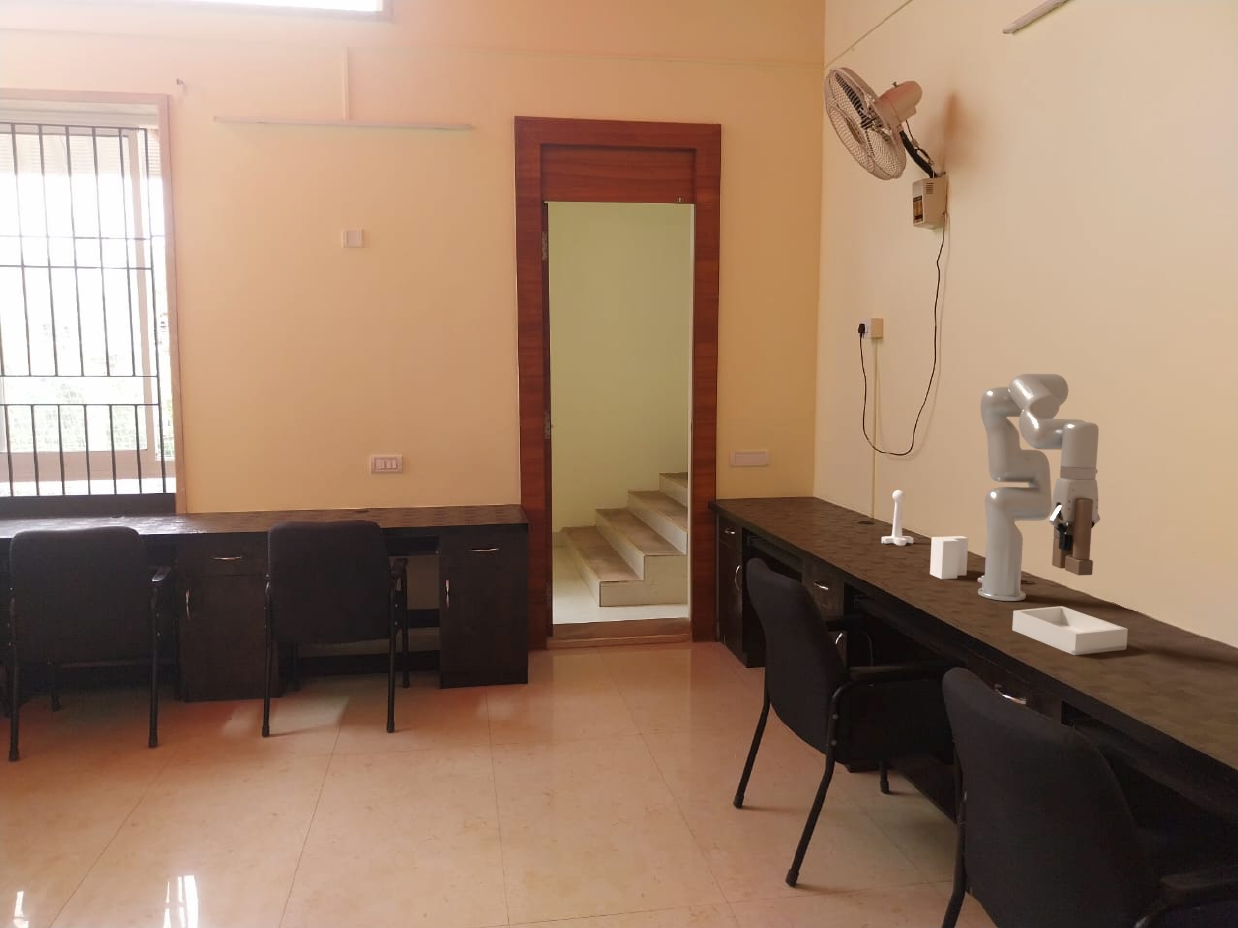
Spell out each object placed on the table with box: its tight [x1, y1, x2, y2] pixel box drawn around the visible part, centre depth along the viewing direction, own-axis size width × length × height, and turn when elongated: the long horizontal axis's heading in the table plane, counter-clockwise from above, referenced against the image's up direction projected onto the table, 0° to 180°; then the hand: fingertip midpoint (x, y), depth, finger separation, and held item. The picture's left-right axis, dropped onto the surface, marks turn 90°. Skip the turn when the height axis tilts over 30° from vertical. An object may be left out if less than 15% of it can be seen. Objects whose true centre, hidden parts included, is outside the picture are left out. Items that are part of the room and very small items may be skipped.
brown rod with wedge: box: [1051, 498, 1094, 576], centre depth 210 cm, size 4×11×18 cm, turn 6°
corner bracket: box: [929, 535, 969, 580], centre depth 279 cm, size 11×11×12 cm
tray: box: [1011, 605, 1129, 656], centre depth 213 cm, size 20×15×5 cm
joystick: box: [881, 489, 914, 547], centre depth 325 cm, size 11×8×20 cm
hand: (1073, 548), depth 211 cm, fingers closed on brown rod with wedge, 4 cm apart
